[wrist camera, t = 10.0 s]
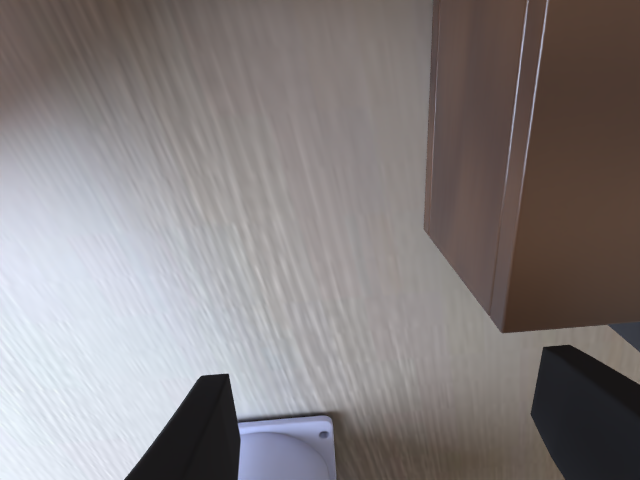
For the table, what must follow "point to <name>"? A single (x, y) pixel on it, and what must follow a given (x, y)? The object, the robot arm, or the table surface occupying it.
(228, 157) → the table surface
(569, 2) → the cupboard
